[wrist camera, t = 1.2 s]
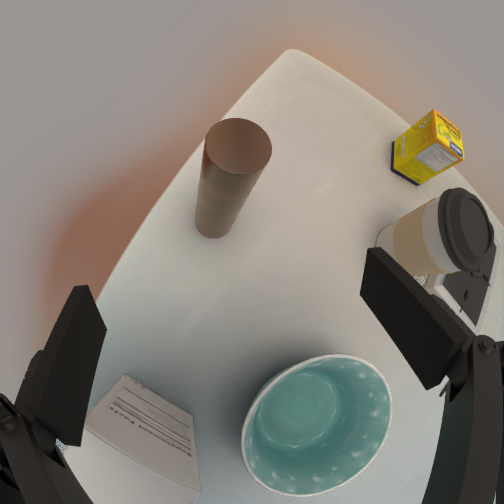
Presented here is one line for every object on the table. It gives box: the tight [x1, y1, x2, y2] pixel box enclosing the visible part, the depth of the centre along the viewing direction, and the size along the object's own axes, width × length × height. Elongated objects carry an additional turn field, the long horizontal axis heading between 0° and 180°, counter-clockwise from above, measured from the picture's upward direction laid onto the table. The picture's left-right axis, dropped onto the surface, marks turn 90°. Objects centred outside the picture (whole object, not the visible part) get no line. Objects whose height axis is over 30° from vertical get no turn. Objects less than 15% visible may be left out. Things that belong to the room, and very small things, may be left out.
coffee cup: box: [376, 188, 494, 276], centre depth 29 cm, size 9×9×15 cm
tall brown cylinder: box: [195, 118, 272, 238], centre depth 24 cm, size 4×4×16 cm
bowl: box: [241, 354, 393, 497], centre depth 26 cm, size 16×16×8 cm
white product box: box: [63, 374, 202, 504], centre depth 18 cm, size 9×9×15 cm
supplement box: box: [391, 109, 464, 186], centre depth 35 cm, size 6×6×11 cm
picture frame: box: [424, 236, 501, 336], centre depth 38 cm, size 16×3×21 cm
